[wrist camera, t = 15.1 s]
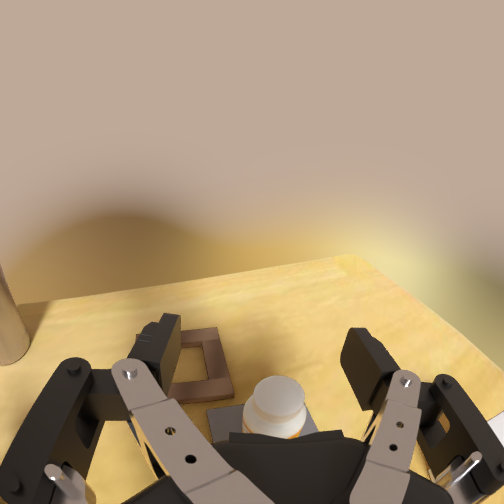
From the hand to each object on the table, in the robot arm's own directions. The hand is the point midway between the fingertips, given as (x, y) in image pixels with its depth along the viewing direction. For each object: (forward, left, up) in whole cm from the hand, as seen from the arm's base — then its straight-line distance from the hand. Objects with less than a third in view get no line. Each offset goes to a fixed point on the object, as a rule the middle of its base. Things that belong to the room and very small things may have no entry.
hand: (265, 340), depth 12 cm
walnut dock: (-6, +15, -19) cm, 25 cm away
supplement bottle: (+2, +2, -19) cm, 19 cm away
